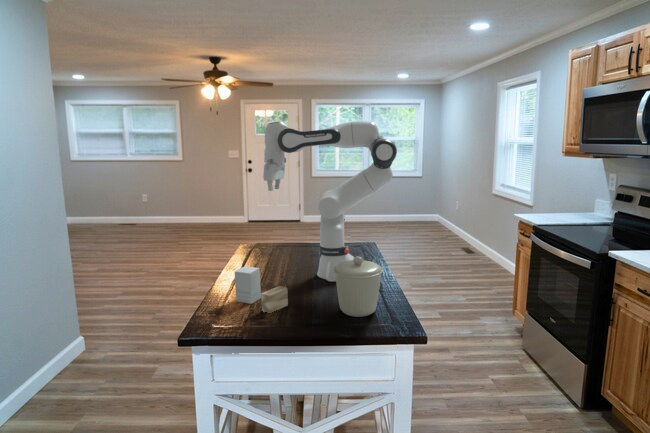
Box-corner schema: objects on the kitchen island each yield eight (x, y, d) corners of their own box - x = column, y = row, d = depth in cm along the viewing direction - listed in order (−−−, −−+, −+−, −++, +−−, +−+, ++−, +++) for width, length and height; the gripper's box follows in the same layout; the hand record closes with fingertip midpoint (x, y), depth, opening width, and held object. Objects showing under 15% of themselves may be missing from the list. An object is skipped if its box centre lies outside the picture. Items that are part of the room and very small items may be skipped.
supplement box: (261, 297, 172) (260, 267, 170) (251, 304, 166) (249, 273, 163) (246, 295, 176) (245, 265, 173) (235, 301, 169) (233, 271, 166)
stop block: (261, 311, 159) (261, 293, 158) (280, 302, 167) (279, 285, 166) (269, 313, 157) (268, 296, 156) (287, 305, 165) (287, 287, 163)
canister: (365, 298, 170) (365, 247, 166) (392, 315, 154) (393, 259, 150) (325, 307, 162) (324, 254, 158) (349, 326, 146) (349, 267, 142)
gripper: (274, 159, 180) (273, 192, 182) (287, 159, 200) (286, 188, 202) (259, 159, 181) (259, 191, 183) (274, 158, 201) (273, 187, 203)
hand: (273, 189), depth 192 cm, fingers open, 8 cm apart
